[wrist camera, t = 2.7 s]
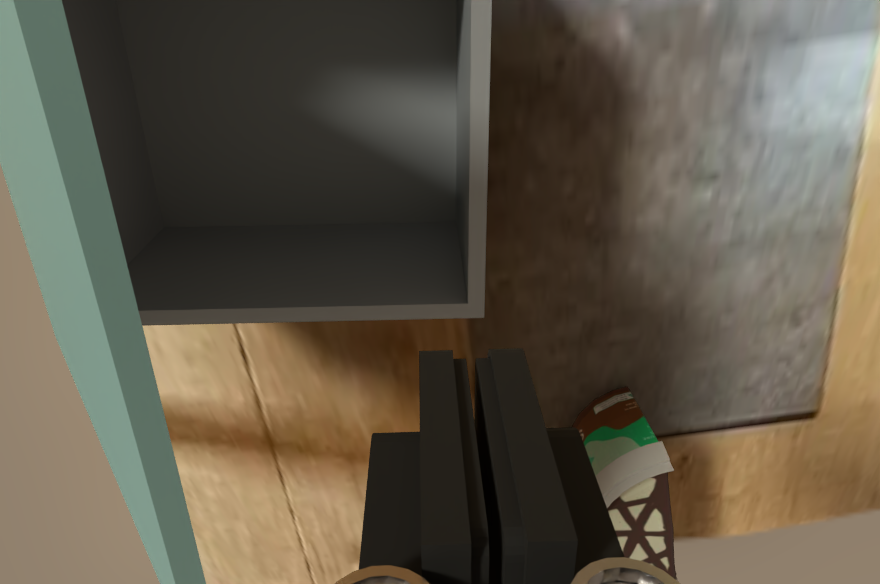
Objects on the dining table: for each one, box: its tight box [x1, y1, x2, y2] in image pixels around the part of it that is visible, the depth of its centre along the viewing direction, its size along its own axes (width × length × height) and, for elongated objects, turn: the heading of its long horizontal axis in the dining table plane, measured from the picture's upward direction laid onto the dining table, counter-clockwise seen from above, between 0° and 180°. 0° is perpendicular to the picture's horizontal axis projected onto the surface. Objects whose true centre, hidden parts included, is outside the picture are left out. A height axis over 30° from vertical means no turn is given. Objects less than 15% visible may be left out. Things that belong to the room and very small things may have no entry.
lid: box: [0, 0, 206, 584], centre depth 19 cm, size 21×19×1 cm
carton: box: [62, 0, 492, 325], centre depth 33 cm, size 20×18×12 cm
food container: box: [572, 386, 678, 581], centre depth 46 cm, size 12×6×10 cm, turn 12°
